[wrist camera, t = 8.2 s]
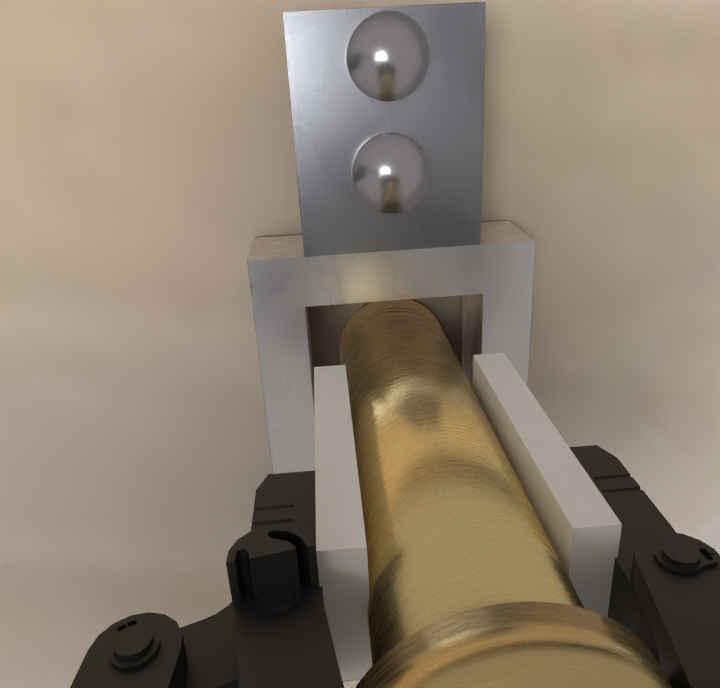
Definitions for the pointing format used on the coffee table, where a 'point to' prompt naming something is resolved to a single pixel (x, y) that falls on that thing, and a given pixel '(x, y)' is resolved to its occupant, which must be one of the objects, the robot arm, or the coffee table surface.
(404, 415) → the pin
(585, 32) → the coffee table surface
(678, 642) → the robot arm
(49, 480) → the coffee table surface
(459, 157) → the chain joint
